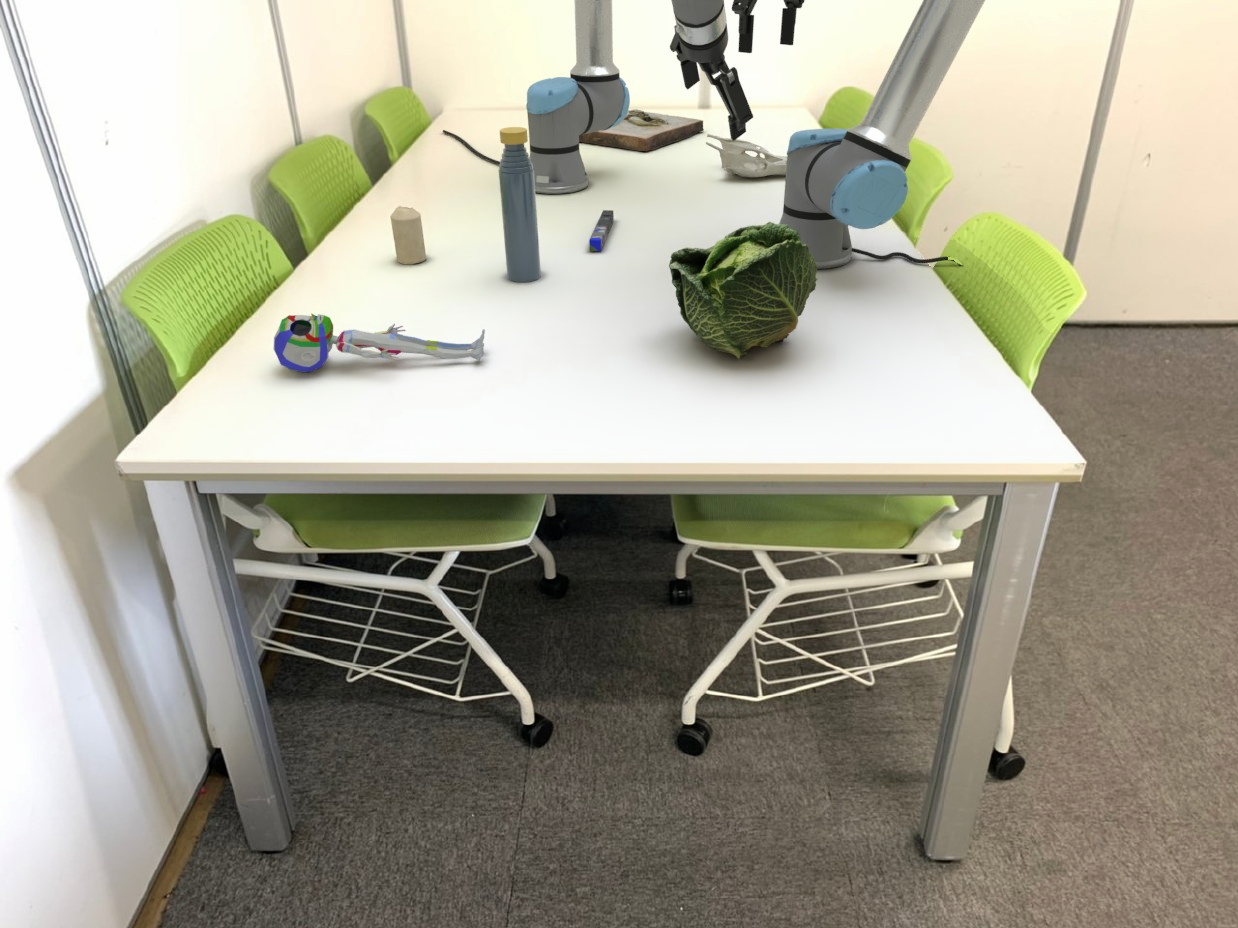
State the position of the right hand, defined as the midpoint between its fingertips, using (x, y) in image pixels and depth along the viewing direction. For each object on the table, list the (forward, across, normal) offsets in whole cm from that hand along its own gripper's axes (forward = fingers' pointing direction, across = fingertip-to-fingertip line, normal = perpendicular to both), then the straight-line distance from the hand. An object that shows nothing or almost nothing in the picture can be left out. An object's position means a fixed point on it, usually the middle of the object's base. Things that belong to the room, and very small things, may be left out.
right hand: (715, 109), depth 157 cm
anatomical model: (+62, -16, +17) cm, 67 cm away
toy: (-22, +14, -69) cm, 74 cm away
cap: (-12, -13, -31) cm, 36 cm away
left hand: (+17, -14, +21) cm, 30 cm away
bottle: (+6, 0, -44) cm, 45 cm away
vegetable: (-8, +40, -24) cm, 48 cm away
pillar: (+24, -7, -26) cm, 36 cm away
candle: (+8, -18, -60) cm, 63 cm away
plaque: (+88, -62, +6) cm, 108 cm away
